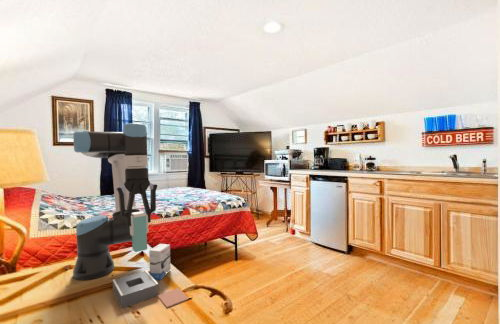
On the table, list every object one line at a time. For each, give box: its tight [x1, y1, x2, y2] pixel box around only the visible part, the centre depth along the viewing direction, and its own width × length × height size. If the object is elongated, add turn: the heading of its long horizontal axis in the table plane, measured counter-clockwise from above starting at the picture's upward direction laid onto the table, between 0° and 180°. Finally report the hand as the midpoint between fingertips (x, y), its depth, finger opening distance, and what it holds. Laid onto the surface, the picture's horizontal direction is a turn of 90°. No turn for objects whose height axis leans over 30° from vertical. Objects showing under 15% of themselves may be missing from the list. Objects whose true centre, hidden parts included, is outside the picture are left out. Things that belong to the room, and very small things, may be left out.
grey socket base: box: [112, 269, 159, 309], centre depth 94 cm, size 14×12×4 cm
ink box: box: [148, 243, 172, 281], centre depth 107 cm, size 8×5×12 cm, turn 168°
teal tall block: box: [131, 210, 148, 253], centre depth 92 cm, size 4×4×13 cm
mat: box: [157, 287, 190, 309], centre depth 91 cm, size 9×9×1 cm
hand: (139, 233), depth 92 cm, fingers closed on teal tall block, 4 cm apart
